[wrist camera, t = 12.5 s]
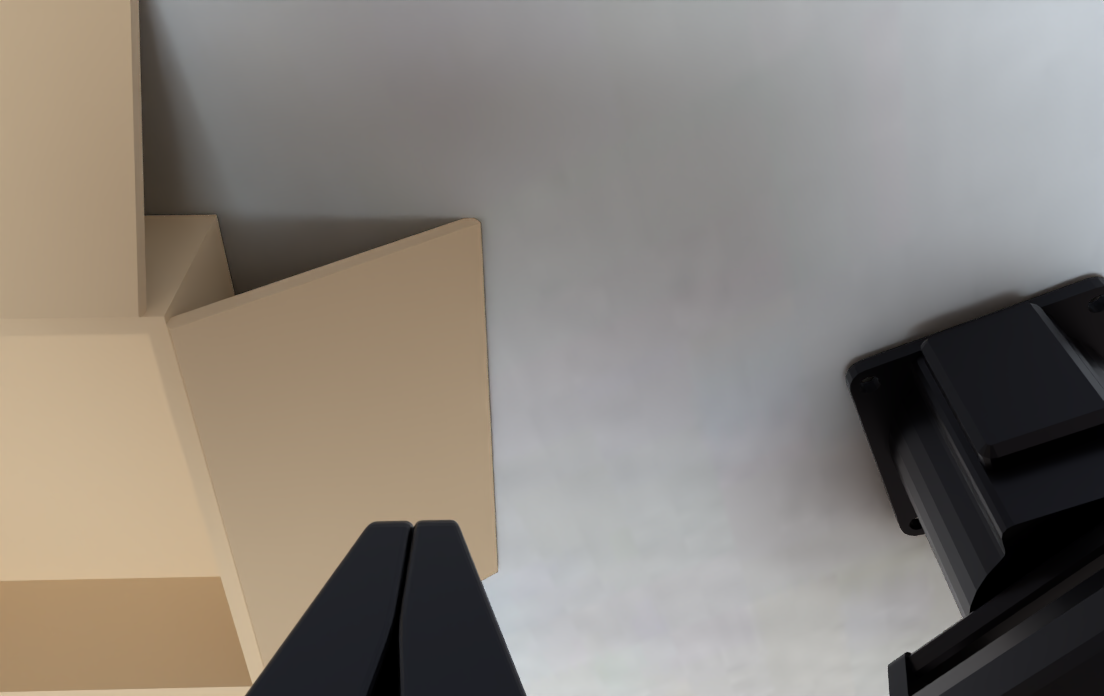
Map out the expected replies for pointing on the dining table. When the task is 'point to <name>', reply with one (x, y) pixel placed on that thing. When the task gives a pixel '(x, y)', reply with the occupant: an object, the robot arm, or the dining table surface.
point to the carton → (198, 396)
